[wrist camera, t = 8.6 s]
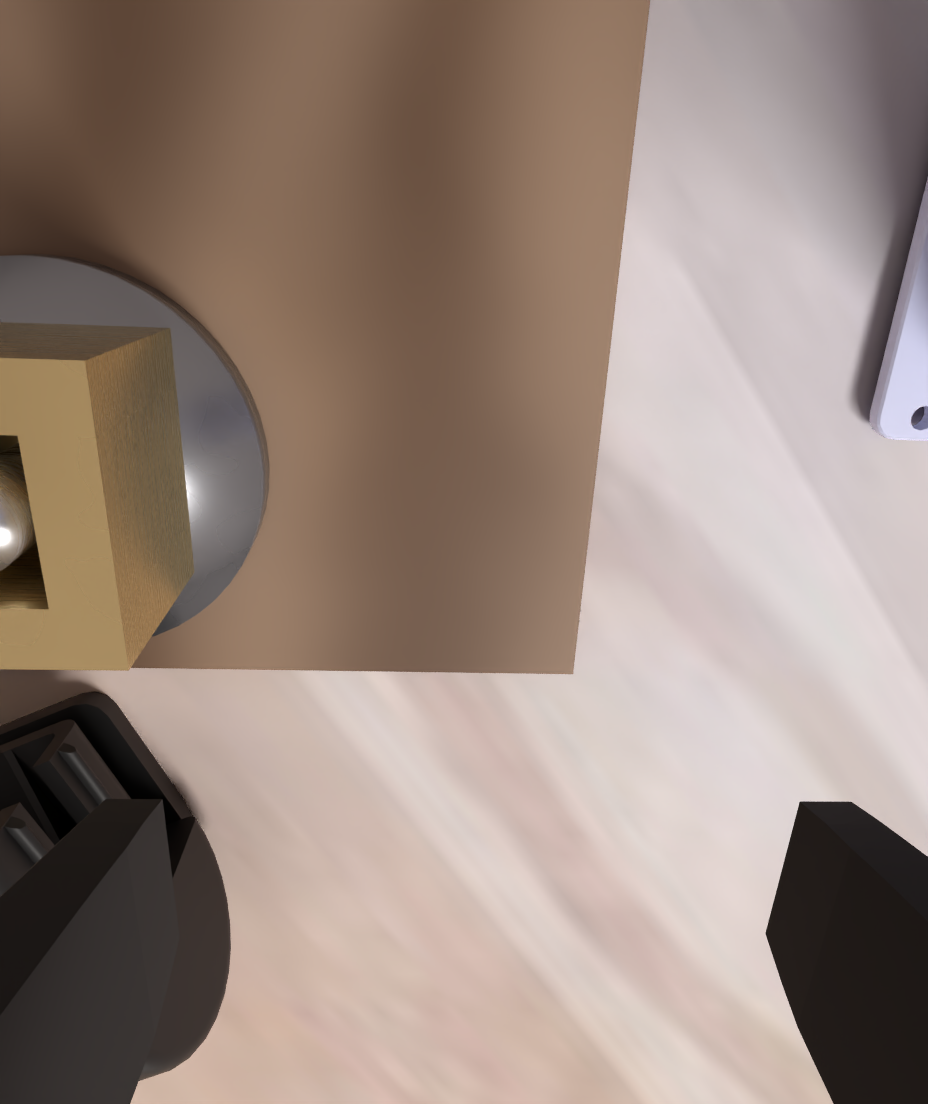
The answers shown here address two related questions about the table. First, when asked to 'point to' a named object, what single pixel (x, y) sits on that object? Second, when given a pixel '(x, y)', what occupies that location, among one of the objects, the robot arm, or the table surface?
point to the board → (360, 289)
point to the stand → (204, 412)
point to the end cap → (74, 792)
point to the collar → (93, 493)
